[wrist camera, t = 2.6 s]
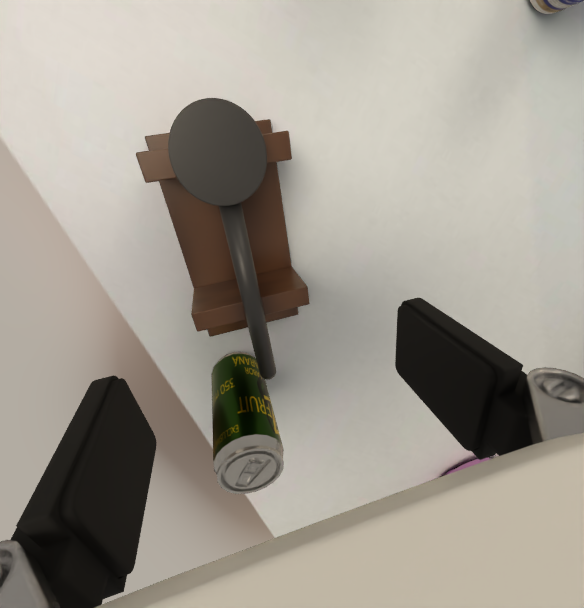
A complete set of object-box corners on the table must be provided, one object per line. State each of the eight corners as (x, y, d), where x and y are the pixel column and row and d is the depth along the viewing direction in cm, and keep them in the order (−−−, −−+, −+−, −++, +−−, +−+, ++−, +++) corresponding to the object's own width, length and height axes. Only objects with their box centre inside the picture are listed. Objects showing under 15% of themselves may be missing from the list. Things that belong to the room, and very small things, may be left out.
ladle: (238, 380, 25) (240, 396, 23) (158, 110, 16) (152, 104, 14) (296, 364, 26) (302, 378, 24) (252, 98, 17) (257, 92, 15)
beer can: (247, 394, 34) (265, 498, 23) (203, 382, 32) (201, 492, 21) (269, 357, 32) (299, 452, 22) (224, 343, 30) (234, 440, 20)
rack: (209, 331, 29) (210, 369, 24) (146, 137, 21) (127, 130, 16) (296, 310, 31) (314, 341, 25) (268, 120, 23) (286, 109, 17)
